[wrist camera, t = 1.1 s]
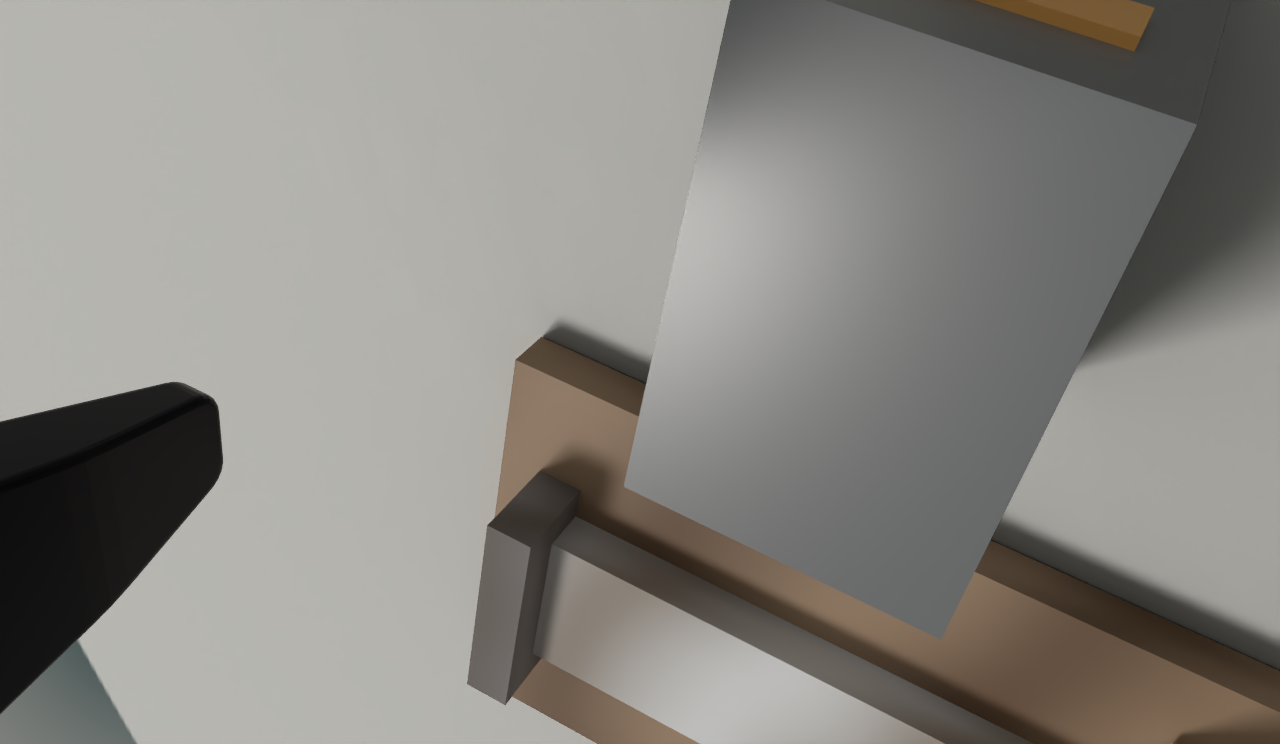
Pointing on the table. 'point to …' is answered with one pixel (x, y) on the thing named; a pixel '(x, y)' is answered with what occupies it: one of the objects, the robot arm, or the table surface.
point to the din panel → (796, 621)
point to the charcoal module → (903, 269)
